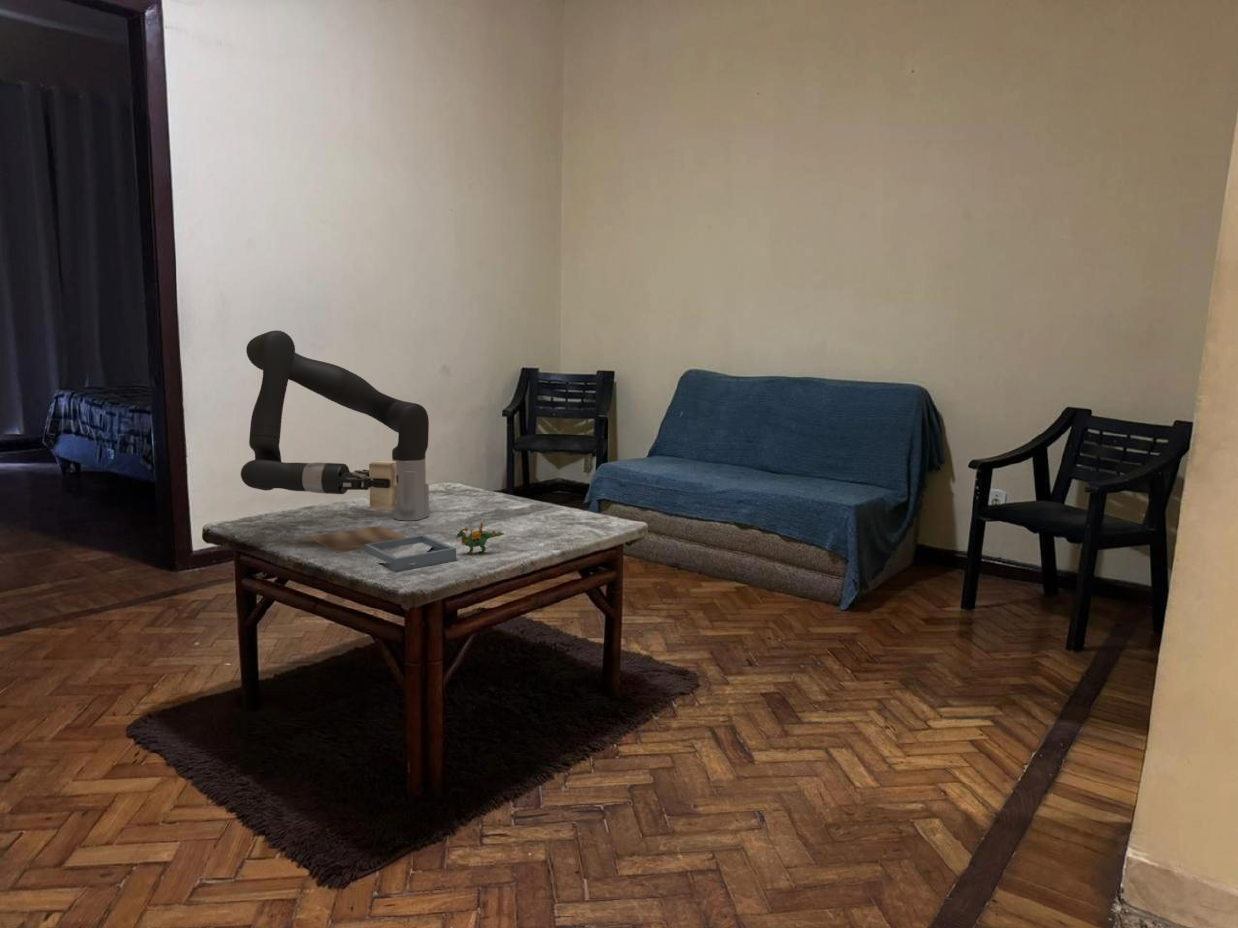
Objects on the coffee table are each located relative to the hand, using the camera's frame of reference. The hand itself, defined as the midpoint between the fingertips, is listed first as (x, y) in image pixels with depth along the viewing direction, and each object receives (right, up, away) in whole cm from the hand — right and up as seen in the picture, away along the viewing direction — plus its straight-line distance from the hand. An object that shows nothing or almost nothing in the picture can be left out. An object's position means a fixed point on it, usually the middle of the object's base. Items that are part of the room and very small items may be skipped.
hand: (393, 481), depth 212 cm
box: (+4, -19, -2) cm, 19 cm away
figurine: (+20, -18, +4) cm, 28 cm away
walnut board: (-11, -16, +10) cm, 22 cm away
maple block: (-3, -6, +1) cm, 7 cm away
